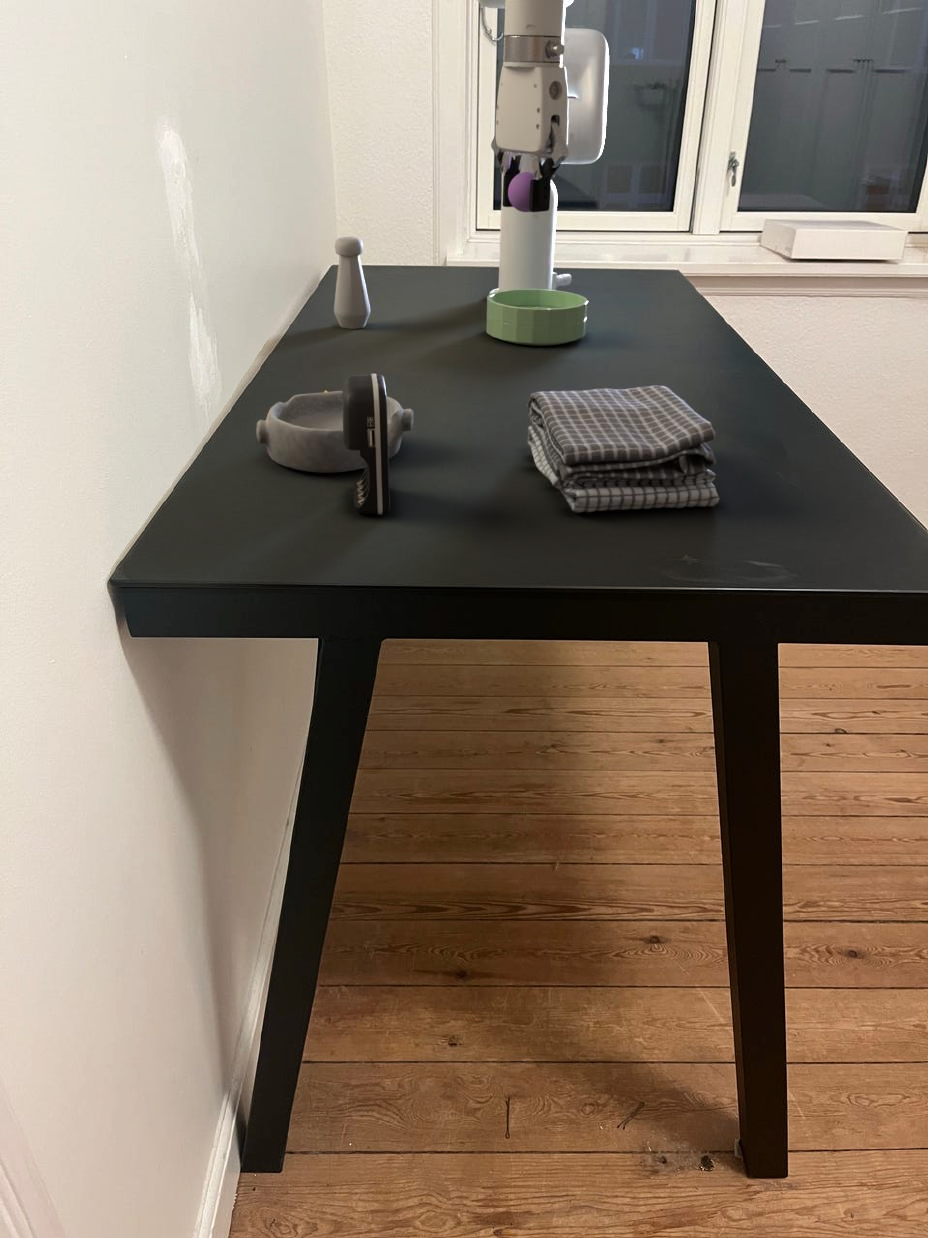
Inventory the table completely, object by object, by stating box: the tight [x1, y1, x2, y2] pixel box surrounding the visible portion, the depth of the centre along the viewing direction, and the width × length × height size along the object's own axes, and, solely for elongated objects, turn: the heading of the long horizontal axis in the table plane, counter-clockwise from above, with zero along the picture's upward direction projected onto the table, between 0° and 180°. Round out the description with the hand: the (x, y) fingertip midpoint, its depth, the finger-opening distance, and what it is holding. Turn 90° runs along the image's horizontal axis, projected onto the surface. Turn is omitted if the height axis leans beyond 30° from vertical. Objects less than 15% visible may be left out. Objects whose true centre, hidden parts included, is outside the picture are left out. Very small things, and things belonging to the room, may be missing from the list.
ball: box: [508, 172, 535, 212], centre depth 125 cm, size 5×5×5 cm
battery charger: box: [342, 373, 391, 516], centre depth 81 cm, size 7×4×11 cm, turn 7°
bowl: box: [485, 289, 589, 346], centre depth 140 cm, size 15×15×6 cm
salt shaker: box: [333, 236, 372, 330], centre depth 142 cm, size 6×6×13 cm
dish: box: [255, 390, 414, 474], centre depth 94 cm, size 14×14×5 cm
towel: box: [526, 384, 720, 514], centre depth 89 cm, size 15×18×8 cm
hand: (525, 207), depth 126 cm, fingers closed on ball, 4 cm apart
